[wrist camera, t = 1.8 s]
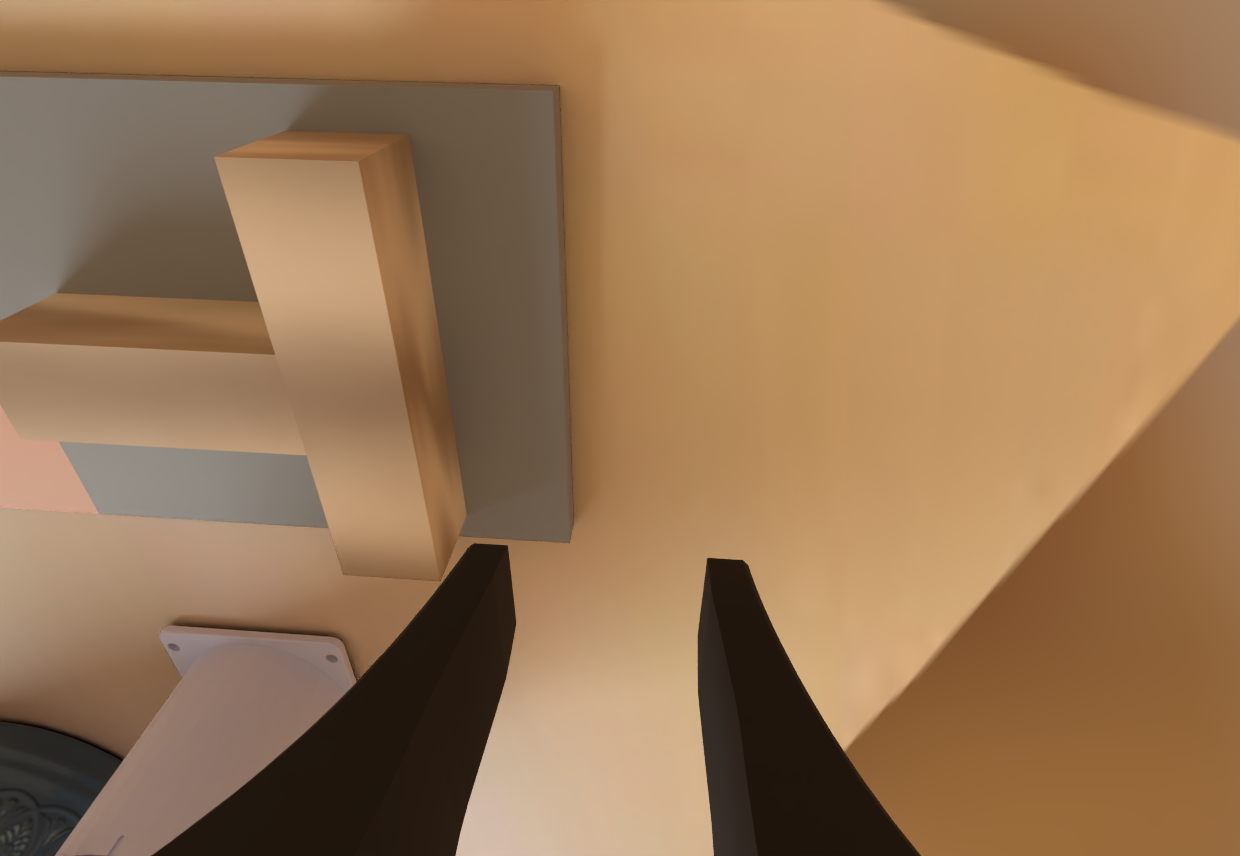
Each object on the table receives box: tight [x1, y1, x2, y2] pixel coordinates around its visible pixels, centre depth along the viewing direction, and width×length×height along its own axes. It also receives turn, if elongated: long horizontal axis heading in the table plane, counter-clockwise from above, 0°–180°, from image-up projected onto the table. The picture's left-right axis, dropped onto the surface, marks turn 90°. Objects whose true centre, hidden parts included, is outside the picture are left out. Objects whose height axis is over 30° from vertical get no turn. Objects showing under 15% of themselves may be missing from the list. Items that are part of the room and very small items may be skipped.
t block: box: [0, 130, 467, 581], centre depth 18 cm, size 12×11×3 cm
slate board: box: [0, 71, 574, 543], centre depth 20 cm, size 14×32×1 cm, turn 90°
